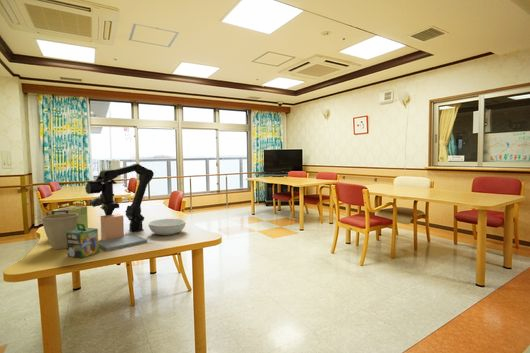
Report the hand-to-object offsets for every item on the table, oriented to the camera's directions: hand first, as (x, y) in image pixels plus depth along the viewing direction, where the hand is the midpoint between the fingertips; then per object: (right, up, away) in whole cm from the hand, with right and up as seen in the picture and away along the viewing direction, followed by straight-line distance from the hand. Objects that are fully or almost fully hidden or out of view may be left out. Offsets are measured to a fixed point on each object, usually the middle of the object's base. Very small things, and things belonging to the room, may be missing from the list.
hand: (108, 219), depth 162 cm
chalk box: (+5, -12, -30) cm, 32 cm away
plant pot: (-13, -11, -18) cm, 25 cm away
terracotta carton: (+4, -10, -4) cm, 12 cm away
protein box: (-26, -10, +7) cm, 28 cm away
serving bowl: (+31, -10, +9) cm, 34 cm away
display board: (+14, -11, -12) cm, 22 cm away
